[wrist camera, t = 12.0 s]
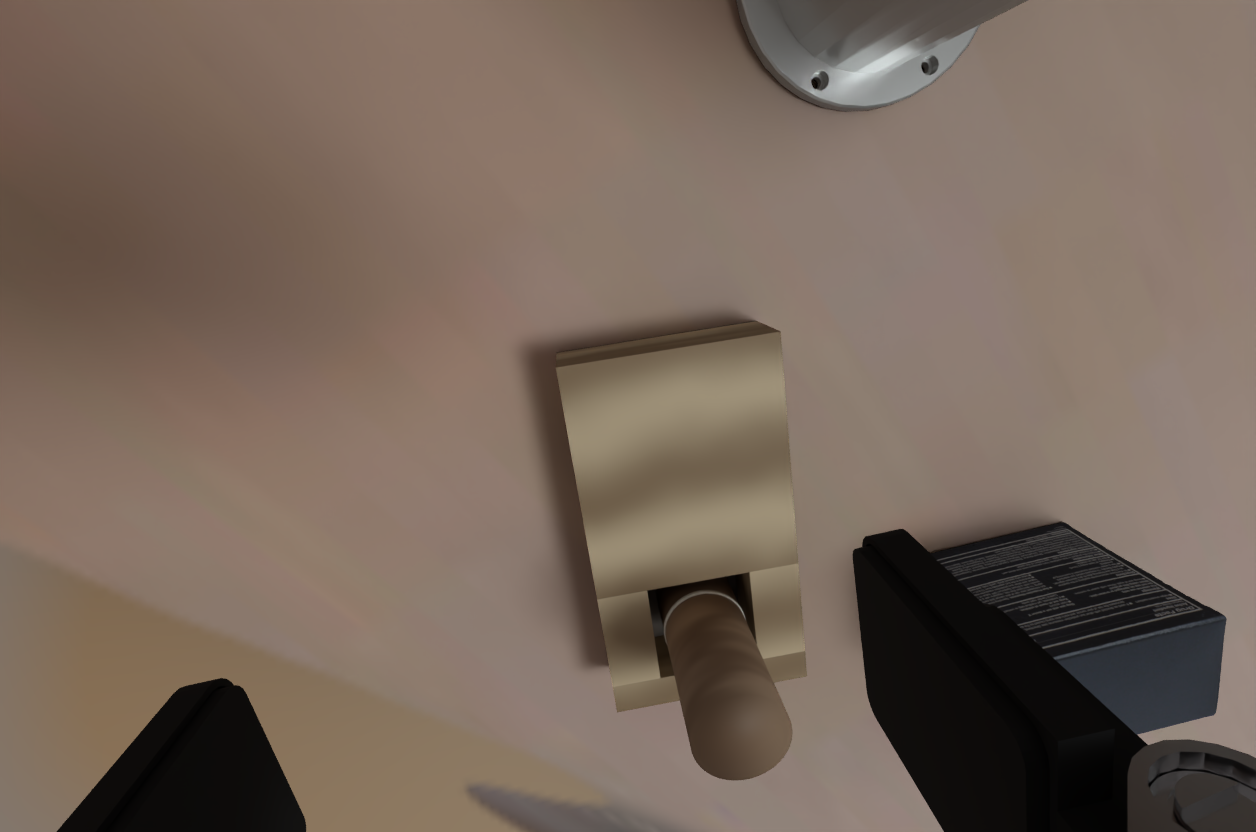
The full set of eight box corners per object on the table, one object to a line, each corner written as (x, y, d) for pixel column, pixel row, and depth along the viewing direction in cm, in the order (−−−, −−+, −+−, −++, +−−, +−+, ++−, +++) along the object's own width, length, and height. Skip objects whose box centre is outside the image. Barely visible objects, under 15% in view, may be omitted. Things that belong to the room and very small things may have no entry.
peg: (725, 550, 38) (790, 685, 27) (731, 615, 40) (796, 771, 28) (650, 562, 38) (683, 703, 27) (659, 627, 39) (695, 789, 28)
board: (556, 352, 34) (555, 367, 31) (756, 321, 35) (780, 331, 31) (612, 666, 40) (617, 712, 36) (783, 634, 41) (806, 676, 37)
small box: (912, 644, 42) (1022, 773, 32) (904, 556, 40) (1018, 664, 30) (1066, 606, 42) (1223, 722, 32) (1065, 518, 40) (1232, 612, 30)
